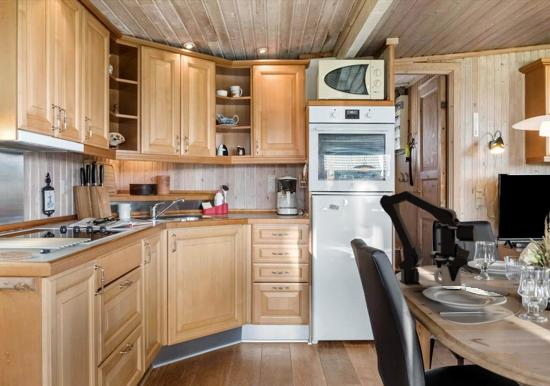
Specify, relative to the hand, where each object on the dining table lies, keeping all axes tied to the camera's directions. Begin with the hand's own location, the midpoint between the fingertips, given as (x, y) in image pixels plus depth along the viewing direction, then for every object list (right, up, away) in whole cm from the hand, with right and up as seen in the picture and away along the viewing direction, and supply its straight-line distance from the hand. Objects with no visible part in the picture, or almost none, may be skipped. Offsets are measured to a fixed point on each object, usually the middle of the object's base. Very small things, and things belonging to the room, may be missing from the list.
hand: (448, 279), depth 166 cm
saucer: (+13, -4, -5) cm, 14 cm away
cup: (0, -4, 0) cm, 4 cm away
